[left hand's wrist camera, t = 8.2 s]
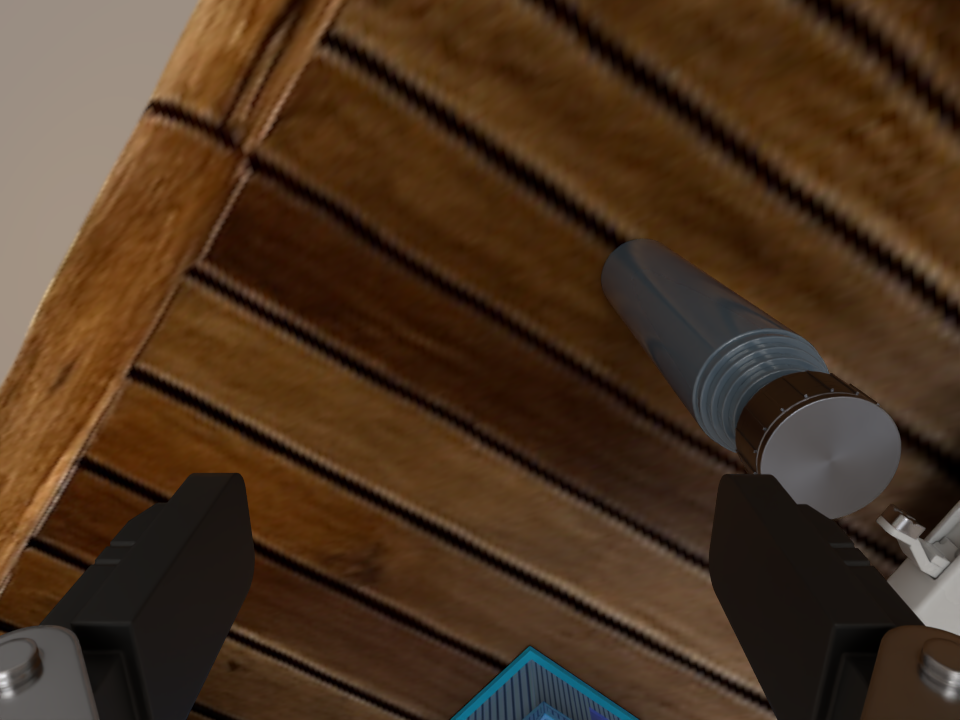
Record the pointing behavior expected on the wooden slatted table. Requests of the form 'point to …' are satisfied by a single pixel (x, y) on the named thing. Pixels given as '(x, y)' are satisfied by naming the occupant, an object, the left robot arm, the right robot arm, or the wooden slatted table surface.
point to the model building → (539, 695)
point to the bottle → (701, 334)
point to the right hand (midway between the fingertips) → (938, 459)
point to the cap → (819, 441)
